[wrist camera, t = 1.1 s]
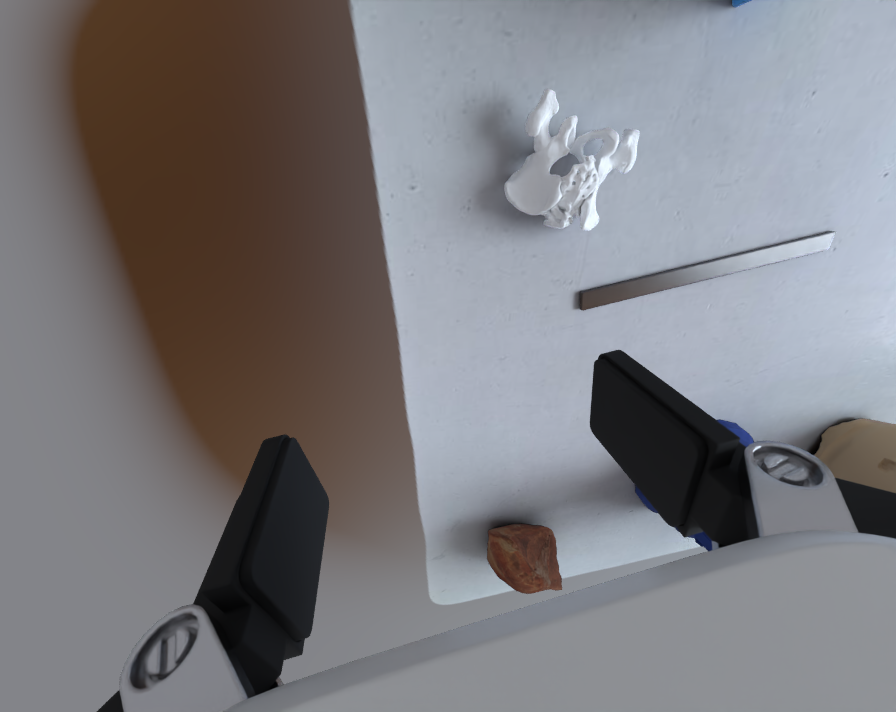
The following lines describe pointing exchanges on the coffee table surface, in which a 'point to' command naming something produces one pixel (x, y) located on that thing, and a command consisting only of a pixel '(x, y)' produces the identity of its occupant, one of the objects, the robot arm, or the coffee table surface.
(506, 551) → the fossil
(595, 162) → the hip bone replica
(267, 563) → the robot arm
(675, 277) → the ruler
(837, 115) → the coffee table surface
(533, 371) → the coffee table surface
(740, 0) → the ink box
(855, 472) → the container
